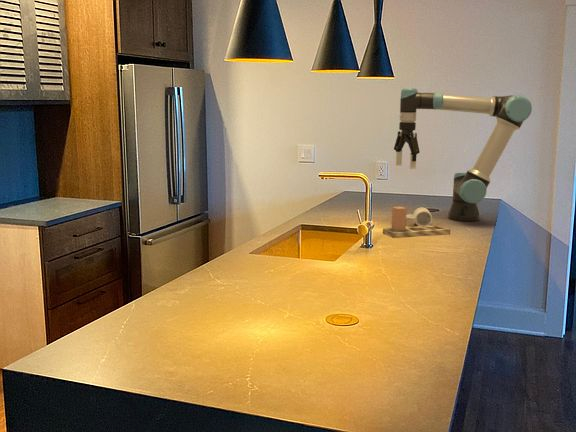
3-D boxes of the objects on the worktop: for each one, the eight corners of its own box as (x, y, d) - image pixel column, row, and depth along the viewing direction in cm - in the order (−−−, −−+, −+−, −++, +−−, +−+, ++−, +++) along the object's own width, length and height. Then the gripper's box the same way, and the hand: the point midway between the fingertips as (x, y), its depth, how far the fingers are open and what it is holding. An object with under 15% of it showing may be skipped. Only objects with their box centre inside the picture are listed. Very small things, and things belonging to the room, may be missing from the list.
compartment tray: (437, 229, 299) (438, 224, 298) (450, 234, 290) (450, 229, 289) (382, 232, 290) (383, 228, 289) (393, 237, 281) (393, 232, 280)
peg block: (400, 233, 290) (401, 206, 287) (405, 235, 285) (406, 208, 283) (391, 233, 288) (392, 207, 286) (396, 236, 284) (397, 208, 282)
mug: (429, 223, 312) (430, 207, 311) (432, 228, 302) (433, 211, 301) (404, 223, 313) (405, 206, 312) (405, 227, 304) (406, 210, 302)
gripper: (388, 120, 317) (386, 164, 321) (414, 122, 294) (411, 170, 297) (401, 120, 319) (399, 163, 323) (428, 122, 296) (426, 169, 300)
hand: (405, 166), depth 310 cm, fingers open, 13 cm apart
